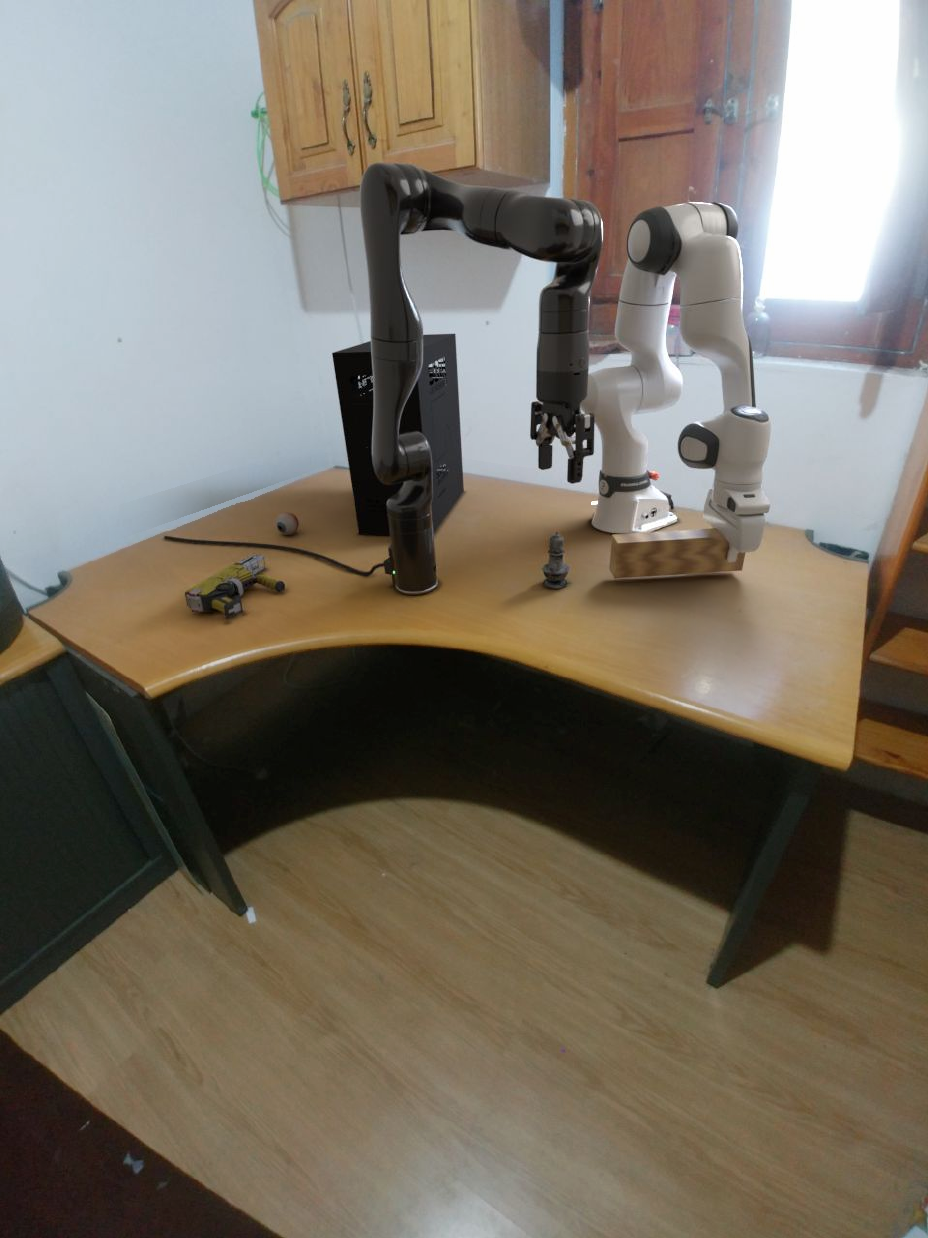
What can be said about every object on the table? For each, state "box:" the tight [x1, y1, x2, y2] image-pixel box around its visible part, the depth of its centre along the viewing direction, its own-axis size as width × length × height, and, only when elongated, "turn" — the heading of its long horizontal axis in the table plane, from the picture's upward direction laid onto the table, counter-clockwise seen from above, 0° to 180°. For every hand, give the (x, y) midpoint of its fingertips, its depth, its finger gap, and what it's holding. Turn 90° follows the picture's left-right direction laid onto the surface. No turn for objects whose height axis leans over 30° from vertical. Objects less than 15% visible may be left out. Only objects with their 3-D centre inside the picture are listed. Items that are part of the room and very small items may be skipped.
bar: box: [609, 527, 747, 579], centre depth 128 cm, size 27×5×8 cm, turn 92°
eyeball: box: [275, 511, 300, 536], centre depth 163 cm, size 6×6×6 cm
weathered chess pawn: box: [541, 530, 570, 589], centre depth 128 cm, size 6×6×12 cm
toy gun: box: [184, 552, 286, 620], centre depth 134 cm, size 5×24×15 cm
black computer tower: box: [331, 333, 465, 536], centre depth 165 cm, size 38×20×45 cm, turn 167°
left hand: (559, 475), depth 96 cm, fingers open, 8 cm apart
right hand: (724, 554), depth 129 cm, fingers closed on bar, 5 cm apart
